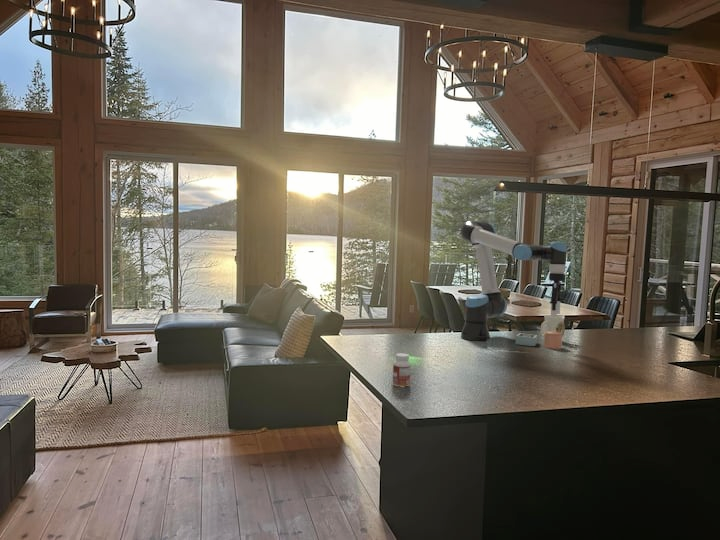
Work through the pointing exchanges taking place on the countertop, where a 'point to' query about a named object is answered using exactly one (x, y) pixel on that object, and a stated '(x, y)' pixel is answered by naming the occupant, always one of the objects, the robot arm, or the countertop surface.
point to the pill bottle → (401, 370)
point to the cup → (553, 340)
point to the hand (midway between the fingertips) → (555, 315)
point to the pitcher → (553, 324)
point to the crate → (526, 339)
